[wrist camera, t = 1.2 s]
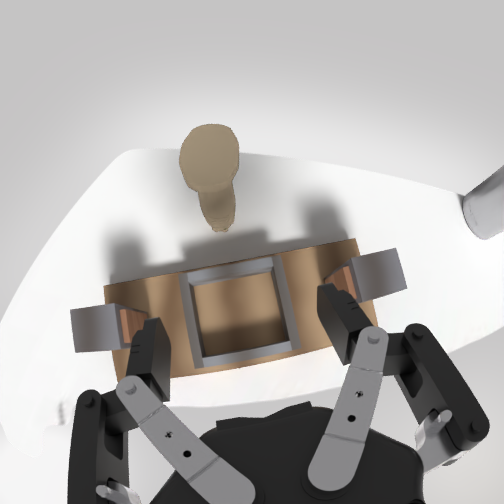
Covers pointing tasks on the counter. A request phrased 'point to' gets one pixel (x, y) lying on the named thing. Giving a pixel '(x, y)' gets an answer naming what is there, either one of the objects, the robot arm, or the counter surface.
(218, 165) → the handle
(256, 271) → the brown and grey holder
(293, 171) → the counter surface
